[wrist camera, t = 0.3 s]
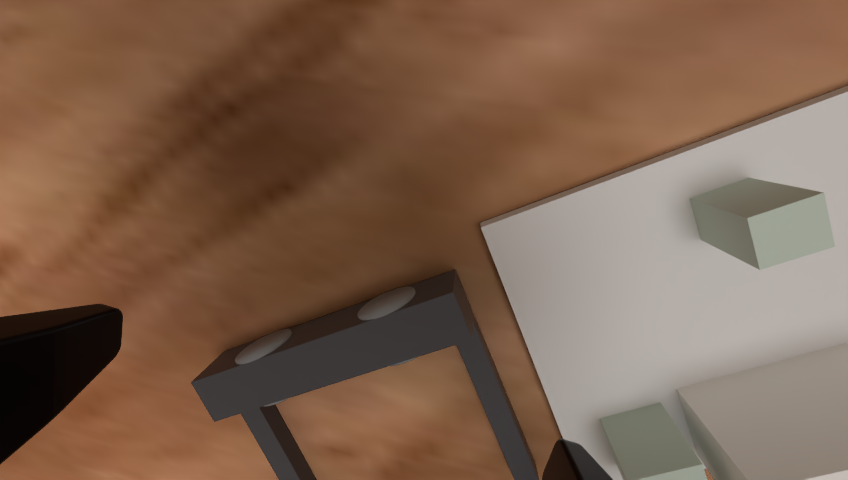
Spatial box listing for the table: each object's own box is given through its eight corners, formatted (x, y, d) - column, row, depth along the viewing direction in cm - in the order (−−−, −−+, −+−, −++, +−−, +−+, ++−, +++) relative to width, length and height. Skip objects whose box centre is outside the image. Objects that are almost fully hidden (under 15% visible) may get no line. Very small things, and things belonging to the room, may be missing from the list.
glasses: (536, 464, 24) (545, 511, 21) (319, 519, 27) (301, 567, 24) (454, 267, 21) (452, 290, 19) (223, 350, 24) (190, 380, 21)
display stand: (999, 381, 20) (1263, 510, 14) (581, 481, 24) (624, 620, 17) (958, 44, 17) (1282, -8, 10) (480, 222, 21) (485, 271, 14)
